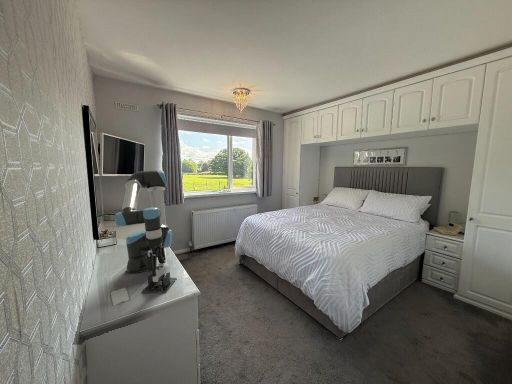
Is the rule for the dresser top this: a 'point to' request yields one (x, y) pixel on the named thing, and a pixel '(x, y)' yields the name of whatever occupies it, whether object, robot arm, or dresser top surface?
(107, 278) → the dresser top surface
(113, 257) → the dresser top surface
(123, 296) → the smartphone
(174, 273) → the dresser top surface
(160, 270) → the cap
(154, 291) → the dark grey holder
